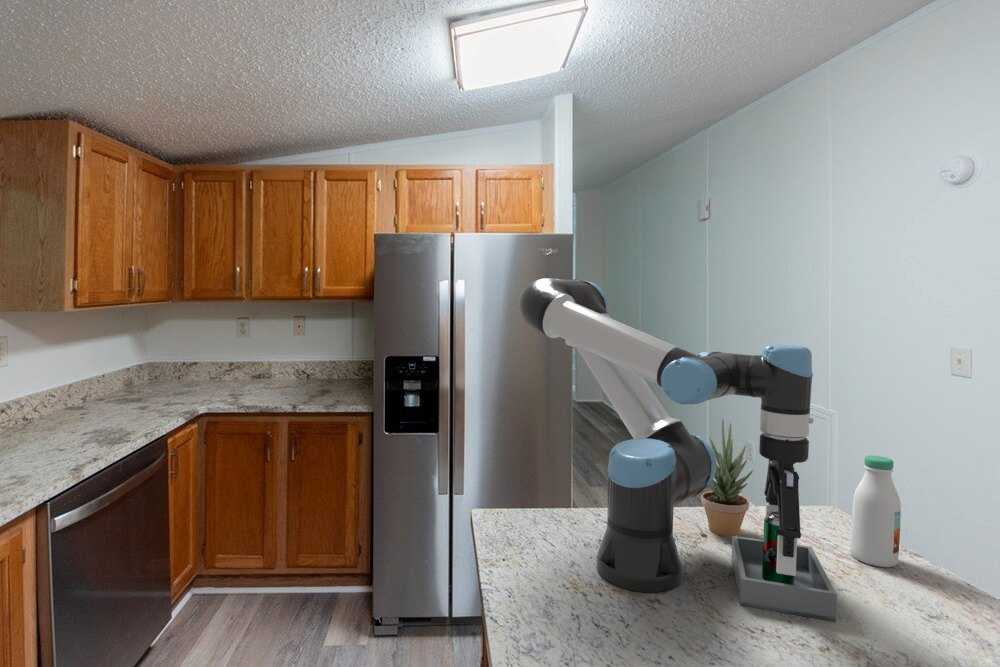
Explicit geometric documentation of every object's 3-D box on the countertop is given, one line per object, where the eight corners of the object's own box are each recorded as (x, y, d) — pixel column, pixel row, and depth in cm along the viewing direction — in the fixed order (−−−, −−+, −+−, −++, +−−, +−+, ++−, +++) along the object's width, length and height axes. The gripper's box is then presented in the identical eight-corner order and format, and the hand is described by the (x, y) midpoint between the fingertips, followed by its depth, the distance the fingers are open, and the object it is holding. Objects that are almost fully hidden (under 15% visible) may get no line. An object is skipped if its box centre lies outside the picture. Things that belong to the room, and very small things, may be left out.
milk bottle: (884, 572, 101) (889, 466, 100) (841, 554, 107) (846, 455, 106) (906, 563, 104) (912, 460, 103) (864, 547, 111) (869, 450, 110)
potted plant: (719, 518, 125) (723, 412, 123) (757, 534, 117) (761, 420, 115) (689, 527, 120) (693, 416, 118) (726, 544, 112) (731, 425, 110)
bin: (740, 605, 89) (741, 579, 89) (731, 557, 106) (732, 535, 105) (835, 621, 85) (836, 594, 84) (810, 569, 101) (811, 546, 101)
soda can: (798, 591, 92) (801, 522, 91) (766, 588, 93) (769, 519, 92) (788, 577, 97) (791, 511, 96) (758, 573, 98) (761, 508, 97)
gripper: (826, 456, 81) (820, 595, 82) (794, 422, 104) (789, 530, 105) (771, 451, 83) (765, 586, 84) (751, 419, 107) (747, 524, 108)
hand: (778, 555), depth 95 cm, fingers open, 13 cm apart
